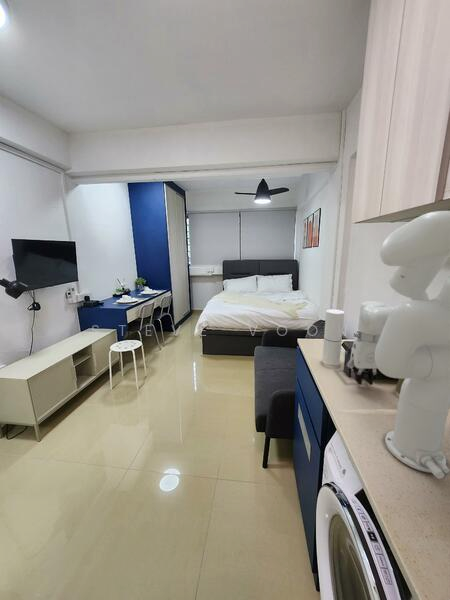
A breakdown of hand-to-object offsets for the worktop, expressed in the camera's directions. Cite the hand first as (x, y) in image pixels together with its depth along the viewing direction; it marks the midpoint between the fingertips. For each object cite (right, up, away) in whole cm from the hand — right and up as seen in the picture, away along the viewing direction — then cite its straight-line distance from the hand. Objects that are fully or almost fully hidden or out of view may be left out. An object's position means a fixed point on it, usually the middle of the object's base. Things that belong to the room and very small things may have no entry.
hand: (363, 382), depth 89 cm
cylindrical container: (-4, +1, +20) cm, 20 cm away
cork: (+13, -4, -3) cm, 14 cm away
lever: (0, +5, +4) cm, 6 cm away
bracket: (0, -1, +9) cm, 9 cm away
